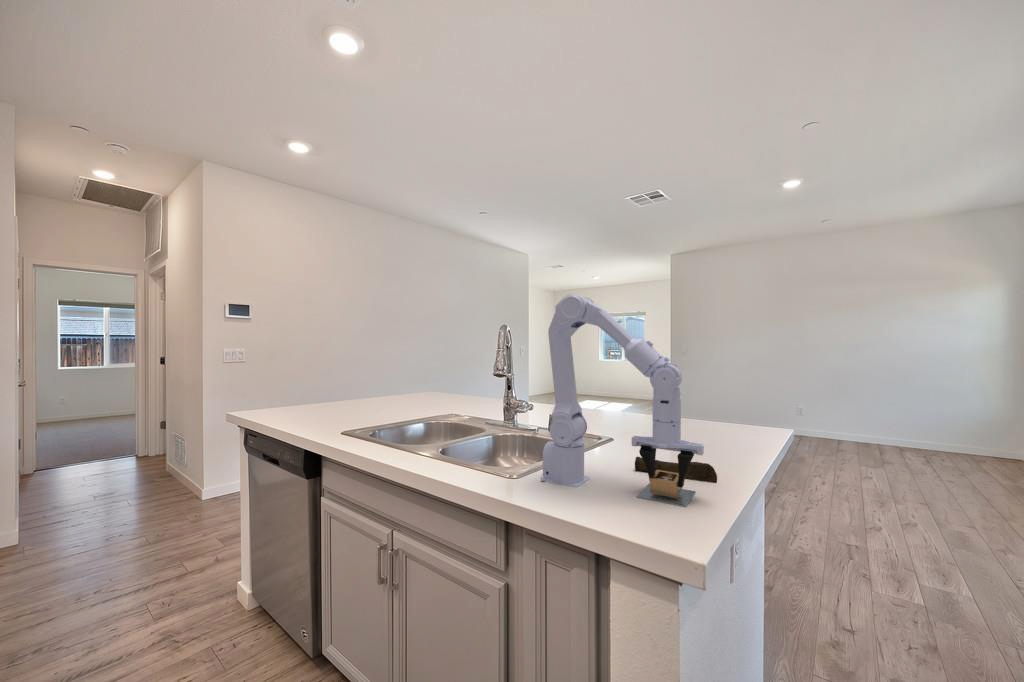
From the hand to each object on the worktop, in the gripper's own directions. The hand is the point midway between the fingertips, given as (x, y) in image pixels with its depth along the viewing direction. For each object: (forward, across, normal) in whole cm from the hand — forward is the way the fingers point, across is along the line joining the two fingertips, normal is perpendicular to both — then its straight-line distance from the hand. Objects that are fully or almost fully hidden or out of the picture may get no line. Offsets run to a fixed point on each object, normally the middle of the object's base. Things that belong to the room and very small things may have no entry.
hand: (666, 483), depth 92 cm
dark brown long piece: (+3, -2, +15) cm, 16 cm away
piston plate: (+3, 0, 0) cm, 3 cm away
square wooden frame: (+2, 0, 0) cm, 2 cm away
